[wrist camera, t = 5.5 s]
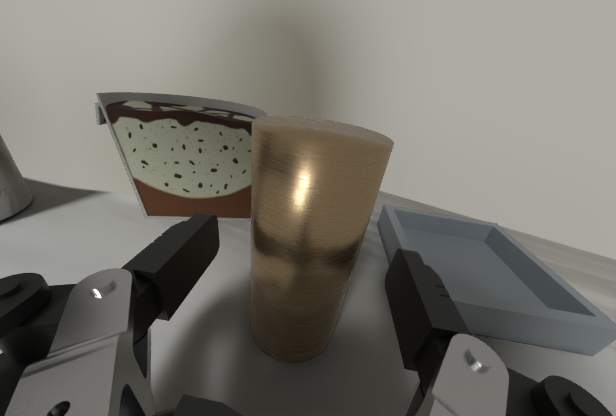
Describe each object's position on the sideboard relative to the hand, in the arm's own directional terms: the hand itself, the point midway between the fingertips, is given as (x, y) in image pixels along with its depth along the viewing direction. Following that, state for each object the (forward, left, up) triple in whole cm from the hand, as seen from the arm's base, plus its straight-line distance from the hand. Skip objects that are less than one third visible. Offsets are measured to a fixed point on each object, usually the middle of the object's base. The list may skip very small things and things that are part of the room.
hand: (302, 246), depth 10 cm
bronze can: (0, +1, -6) cm, 6 cm away
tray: (+13, +8, -6) cm, 16 cm away
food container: (-11, +12, -6) cm, 17 cm away
